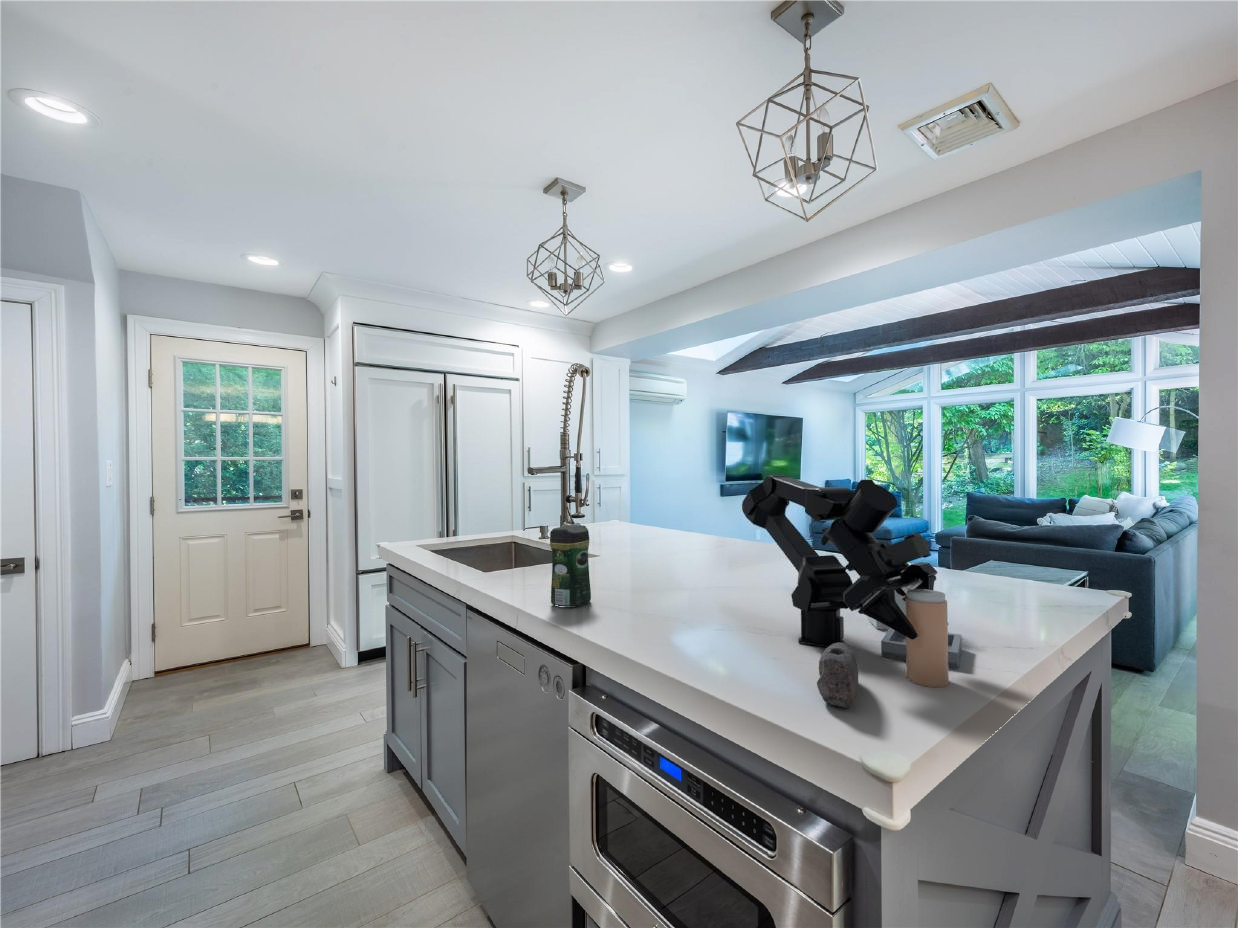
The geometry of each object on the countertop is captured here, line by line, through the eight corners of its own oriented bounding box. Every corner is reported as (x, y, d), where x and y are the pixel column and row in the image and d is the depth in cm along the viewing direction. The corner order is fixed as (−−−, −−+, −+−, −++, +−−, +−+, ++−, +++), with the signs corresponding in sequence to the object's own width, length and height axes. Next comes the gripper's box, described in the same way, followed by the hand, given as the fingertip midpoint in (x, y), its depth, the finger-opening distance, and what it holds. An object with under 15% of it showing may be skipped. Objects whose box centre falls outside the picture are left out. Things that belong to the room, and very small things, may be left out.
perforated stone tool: (825, 672, 87) (824, 628, 87) (862, 678, 85) (861, 632, 85) (813, 711, 73) (812, 658, 73) (856, 719, 71) (856, 664, 71)
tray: (881, 655, 94) (881, 641, 94) (891, 638, 103) (891, 625, 103) (957, 668, 88) (957, 652, 88) (961, 649, 97) (961, 634, 97)
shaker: (904, 682, 83) (902, 594, 83) (909, 670, 87) (907, 587, 87) (947, 689, 79) (945, 598, 80) (950, 677, 84) (948, 591, 84)
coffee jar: (569, 597, 138) (568, 522, 138) (596, 601, 134) (595, 524, 134) (544, 606, 130) (543, 526, 130) (571, 610, 126) (570, 528, 126)
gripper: (860, 520, 82) (940, 611, 73) (923, 513, 93) (1000, 591, 84) (814, 567, 88) (883, 656, 79) (878, 554, 99) (945, 631, 90)
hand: (931, 632), depth 83 cm, fingers open, 9 cm apart
